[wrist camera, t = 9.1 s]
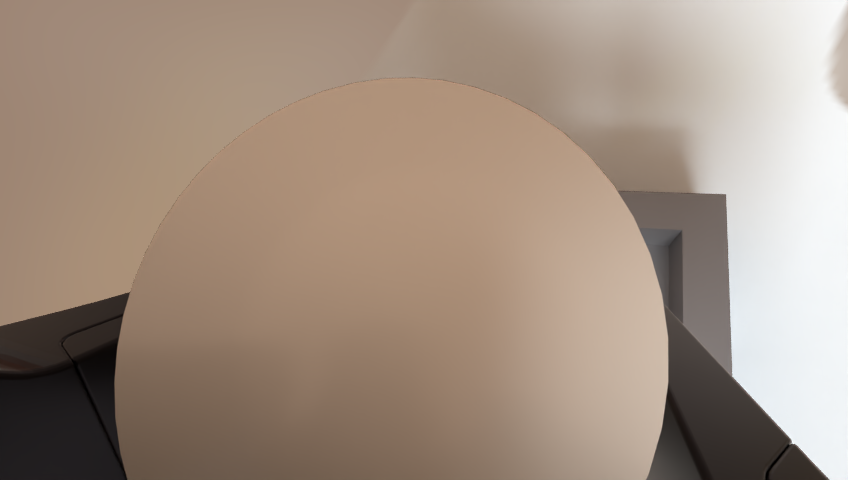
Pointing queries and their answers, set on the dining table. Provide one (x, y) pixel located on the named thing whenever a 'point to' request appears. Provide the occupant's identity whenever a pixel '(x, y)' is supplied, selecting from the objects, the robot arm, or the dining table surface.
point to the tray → (690, 261)
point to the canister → (395, 303)
